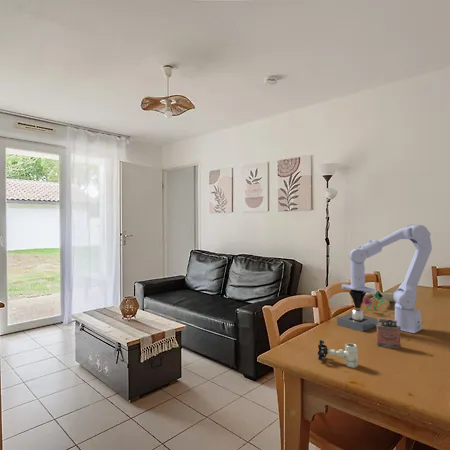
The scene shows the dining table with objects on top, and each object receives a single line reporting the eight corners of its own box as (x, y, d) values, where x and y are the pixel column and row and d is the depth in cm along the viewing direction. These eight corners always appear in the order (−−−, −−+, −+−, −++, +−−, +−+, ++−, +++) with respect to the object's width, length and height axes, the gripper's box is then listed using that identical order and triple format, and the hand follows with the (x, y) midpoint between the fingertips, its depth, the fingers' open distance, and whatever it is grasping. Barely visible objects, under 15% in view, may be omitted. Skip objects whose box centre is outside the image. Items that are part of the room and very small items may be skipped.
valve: (359, 362, 106) (321, 356, 112) (359, 342, 106) (321, 337, 112) (357, 371, 100) (317, 363, 106) (357, 349, 100) (317, 343, 106)
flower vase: (396, 316, 178) (370, 316, 154) (374, 306, 187) (347, 304, 163) (404, 297, 177) (380, 293, 153) (382, 287, 186) (356, 282, 162)
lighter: (400, 345, 119) (399, 318, 119) (401, 349, 116) (401, 321, 116) (375, 343, 122) (375, 316, 122) (376, 346, 119) (376, 319, 119)
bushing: (364, 326, 141) (364, 309, 141) (360, 328, 138) (360, 311, 138) (355, 324, 144) (354, 308, 144) (350, 326, 141) (350, 309, 141)
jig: (377, 325, 142) (377, 318, 142) (362, 331, 134) (362, 324, 134) (352, 319, 151) (352, 312, 151) (337, 324, 144) (337, 317, 144)
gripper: (337, 275, 144) (337, 306, 145) (368, 280, 133) (368, 313, 133) (346, 273, 149) (346, 303, 149) (377, 277, 137) (377, 310, 137)
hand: (357, 307), depth 141 cm, fingers closed
